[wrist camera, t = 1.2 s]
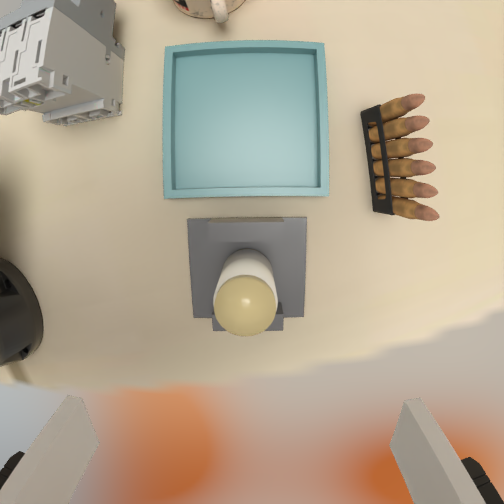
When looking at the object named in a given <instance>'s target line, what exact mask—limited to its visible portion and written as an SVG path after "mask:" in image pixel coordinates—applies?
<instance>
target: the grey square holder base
mask: <svg viewBox="0 0 504 504" xmlns="http://www.w3.org/2000/svg"><path fill="white" fill-rule="evenodd" d="M187 222H188V243H189V260H190V276H191V290H192V303H193V315H194V318H212V323H213V331H227V330H225V329H224V328H223V327H222V326H221V325H220V324H219V322H218V321H217V319H216V316H215V313H214V305H213V298H214V293H215V290H216V287H217V284H218V281H219V278H220V275H221V272H222V269H223V266H224V263H225V261H226V260H227V258H228V257H229V256H230V255H232V254H233V253H235V252H236V251H238V250H241V249H247V248H248V249H254V250H257V251H259V252H261V253H262V254H263V255H264V256H265V257H266V258H267V259H268V260H269V262H270V264H271V267H272V271H273V276H274V282H275V287H276V293H277V298H278V306H277V310H276V314H275V317H274V320H273V322H272V323H271V325H270V326H269V327H268V328H267V329H266V330H264V331H279V330H283V317H304V297H305V271H306V231H307V217H245V218H195V219H187Z"/></svg>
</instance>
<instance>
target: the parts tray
mask: <svg viewBox="0 0 504 504" xmlns="http://www.w3.org/2000/svg"><path fill="white" fill-rule="evenodd" d="M163 184H164V199H168V198H192V197H226V196H329V130H328V101H327V80H326V64H325V50H324V43H317V42H303V41H278V40H244V41H220V42H205V43H193V44H184V45H175V46H167V47H165V60H164V84H163Z"/></svg>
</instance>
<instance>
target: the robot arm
mask: <svg viewBox="0 0 504 504" xmlns="http://www.w3.org/2000/svg"><path fill="white" fill-rule="evenodd" d="M42 333H43V323H42V316H41V311H40V308H39V304H38V302H37V299H36V297H35V294H34V292H33V290H32V288H31V287H30V285H29V283H28V282H27V280H26V279H25V277H24V276H23V275H22V274H21V272H20V271H19V270H18V269H17V268H16V267H15V266H14V265H12V264H11V263H10V262H8V261H6V260H4V259H2V258H0V367H1V366H4V365H8V364H11V363H14V362H18V361H21V360H24V359H25V358H27V357H28V356H29V355H31V354H32V353H33V352H34V351H35V350H36V349H37V348H38V346H39V344H40V342H41V339H42ZM99 443H100V442H99V440H98V438H97V435H96V433H95V430H94V428H93V426H92V423H91V420H90V418H89V415H88V412H87V410H86V407H85V405H84V402H83V399H82V398H78V397H73V396H67V397H66V399H65V400H64V401H63V402H62V404H61V405H60V406H59V408H58V409H57V411H56V412H55V413H54V414H53V416H52V417H51V418H50V420H49V421H48V423H47V424H46V425H45V427H44V428H43V429H42V431H41V432H40V434H39V435H38V436H37V438H36V439H35V440H34V442H33V443H32V445H31V446H30V447H29V449H28V450H27V452H26V453H23V452H21V451H19V452H18V453H16V454H15V455H13V456H12V457H10V459H9V460H8V461H7V463H6V464H5V465H4V468H2V470H1V471H0V504H69V502H70V500H71V498H72V496H73V494H74V492H75V490H76V487H77V486H78V484H79V481H80V480H81V477H82V476H83V474H84V472H85V470H86V468H87V466H88V464H89V462H90V460H91V458H92V456H93V454H94V452H95V450H96V448H97V447H98V444H99ZM390 448H391V450H392V452H393V455H394V457H395V459H396V461H397V464H398V466H399V469H400V471H401V473H402V475H403V478H404V480H405V483H406V485H407V487H408V490H409V492H410V494H411V497H412V499H413V502H414V504H504V502H503V500H502V499H501V497H500V495H499V494H498V492H497V490H496V489H495V487H494V486H493V484H492V483H491V482H490V479H489V478H488V476H487V475H486V473H485V471H484V470H483V468H482V467H481V465H480V464H479V463H478V462H477V461H475V460H474V459H472V458H471V457H468V458H465V459H463V460H460V459H459V457H458V456H457V454H456V452H455V451H454V449H453V447H452V446H451V444H450V443H449V441H448V440H447V438H446V436H445V435H444V433H443V432H442V430H441V428H440V427H439V425H438V424H437V422H436V421H435V419H434V418H433V416H432V414H431V413H430V411H429V410H428V408H427V407H426V405H425V404H424V402H423V401H422V399H421V398H416V399H410V400H405V401H404V404H403V407H402V410H401V413H400V417H399V419H398V422H397V425H396V429H395V431H394V434H393V437H392V440H391V443H390Z"/></svg>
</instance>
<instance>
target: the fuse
mask: <svg viewBox="0 0 504 504" xmlns="http://www.w3.org/2000/svg"><path fill="white" fill-rule="evenodd" d="M213 305H214V313H215V316H216V319H217V321H218V322H219V324H220V325H221V326H222V327H223V328H224V329H225V330H227V331H228V332H230V333H232V334H235V335H238V336H253V335H256V334H259V333H261V332H263V331H264V330H266V329H267V328H268V327H269V326H270V325H271V323H272V322H273V320H274V317H275V314H276V310H277V306H278V298H277V293H276V287H275V282H274V276H273V271H272V267H271V264H270V262H269V260H268V259H267V258H266V257H265V256H264V255H263V254H262V253H261V252H259V251H257V250H254V249H248V248H247V249H241V250H238V251H236V252H235V253H233V254H232V255H230V256H229V257H228V258H227V260H226V261H225V263H224V266H223V269H222V272H221V275H220V278H219V281H218V284H217V287H216V290H215V293H214V298H213Z"/></svg>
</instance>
